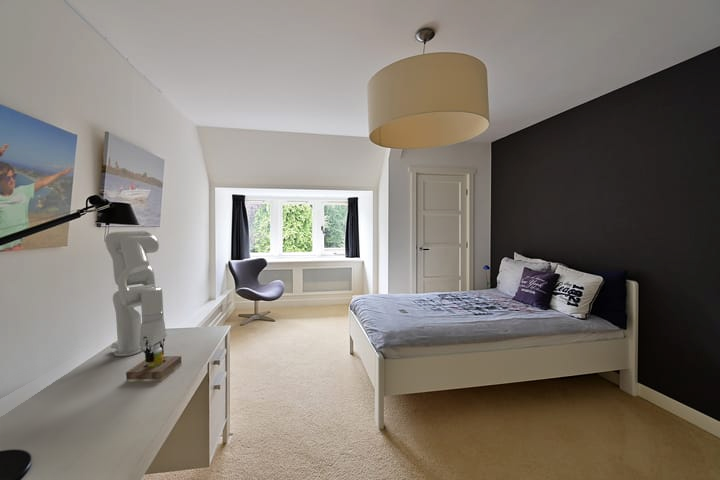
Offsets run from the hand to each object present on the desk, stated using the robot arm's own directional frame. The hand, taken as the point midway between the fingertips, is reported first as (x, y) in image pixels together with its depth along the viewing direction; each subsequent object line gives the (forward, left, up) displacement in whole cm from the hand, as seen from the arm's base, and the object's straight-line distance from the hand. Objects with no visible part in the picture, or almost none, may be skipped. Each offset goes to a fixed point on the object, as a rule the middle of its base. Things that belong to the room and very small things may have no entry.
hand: (154, 358), depth 127 cm
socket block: (0, 0, -6) cm, 6 cm away
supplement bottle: (0, 0, -4) cm, 4 cm away
